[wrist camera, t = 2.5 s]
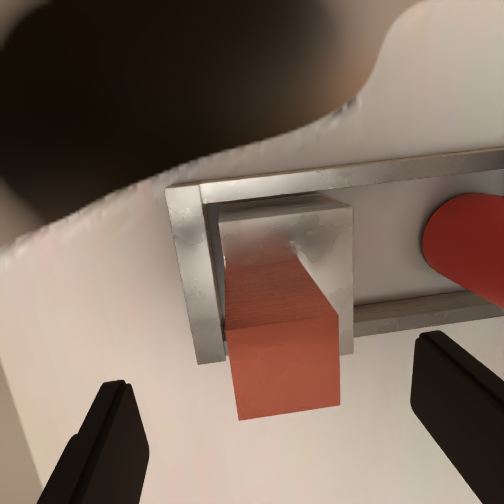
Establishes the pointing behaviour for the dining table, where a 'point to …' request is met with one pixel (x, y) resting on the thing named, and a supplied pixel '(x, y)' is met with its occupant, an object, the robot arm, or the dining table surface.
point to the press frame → (198, 193)
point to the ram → (287, 301)
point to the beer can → (469, 244)
